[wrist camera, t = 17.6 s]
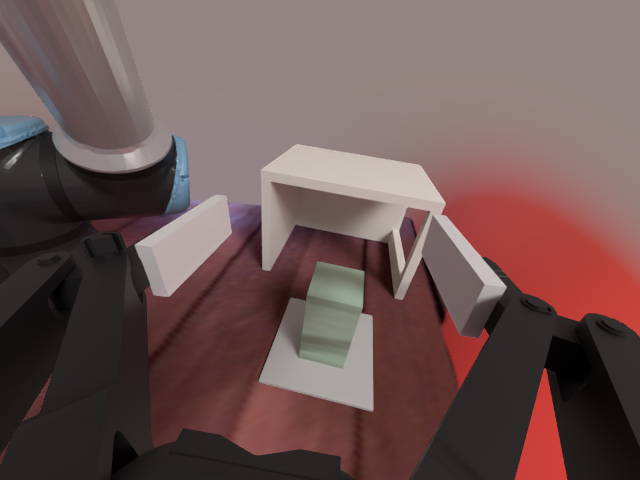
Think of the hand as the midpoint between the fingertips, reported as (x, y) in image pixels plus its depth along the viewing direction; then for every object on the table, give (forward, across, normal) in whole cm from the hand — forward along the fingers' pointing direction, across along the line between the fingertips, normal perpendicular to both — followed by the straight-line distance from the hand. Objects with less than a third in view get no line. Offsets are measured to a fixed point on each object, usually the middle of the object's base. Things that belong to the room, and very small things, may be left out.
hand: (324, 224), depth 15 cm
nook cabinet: (+31, +1, -22) cm, 38 cm away
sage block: (+9, 0, -23) cm, 25 cm away
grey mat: (+9, 0, -23) cm, 25 cm away
